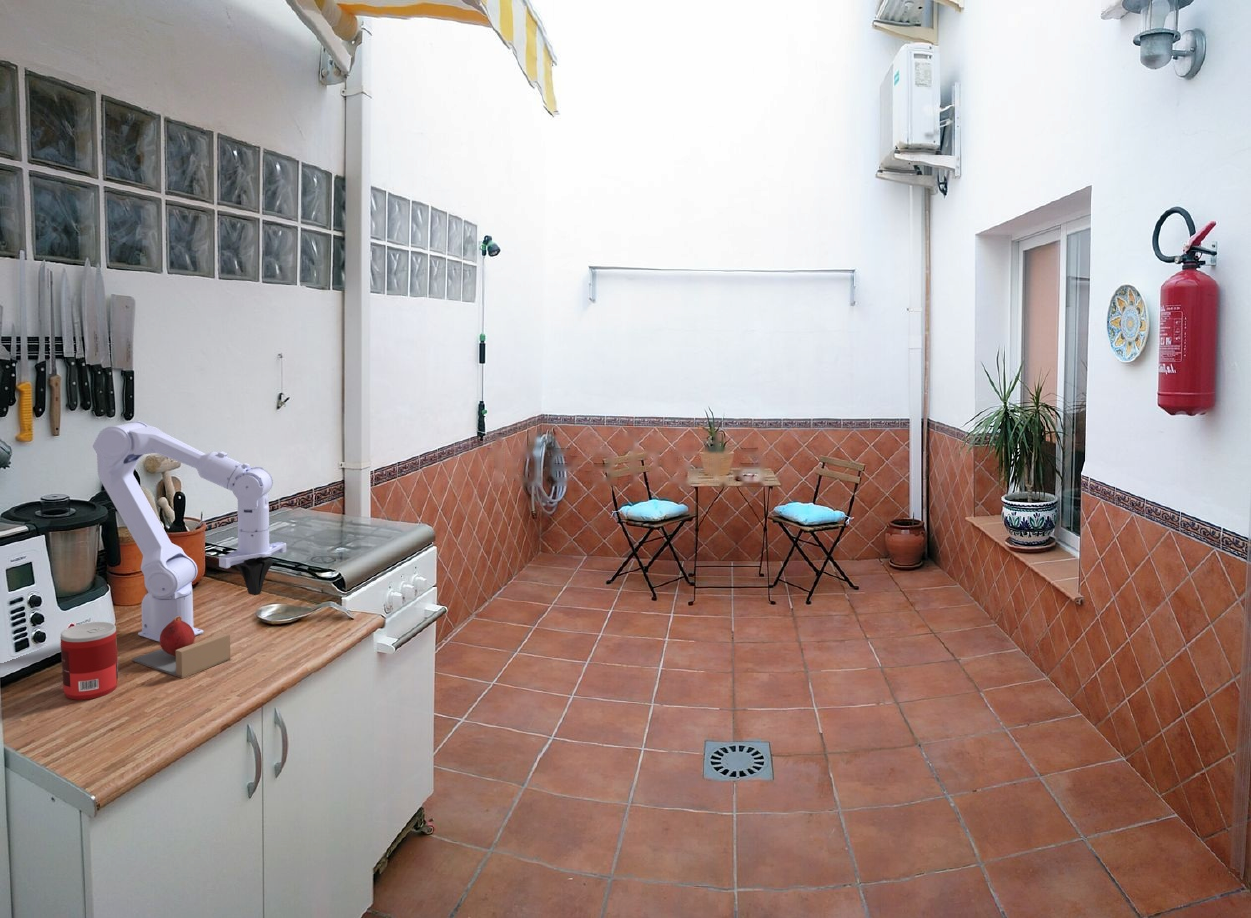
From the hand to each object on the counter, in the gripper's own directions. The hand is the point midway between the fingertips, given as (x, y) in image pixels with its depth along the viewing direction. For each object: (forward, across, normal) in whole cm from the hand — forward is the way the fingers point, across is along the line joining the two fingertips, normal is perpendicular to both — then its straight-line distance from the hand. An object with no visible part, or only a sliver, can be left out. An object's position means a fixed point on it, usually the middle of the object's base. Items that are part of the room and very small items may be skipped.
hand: (254, 593), depth 164 cm
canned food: (+10, -31, +3) cm, 33 cm away
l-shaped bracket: (+9, -15, +2) cm, 18 cm away
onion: (+9, -15, +3) cm, 18 cm away
